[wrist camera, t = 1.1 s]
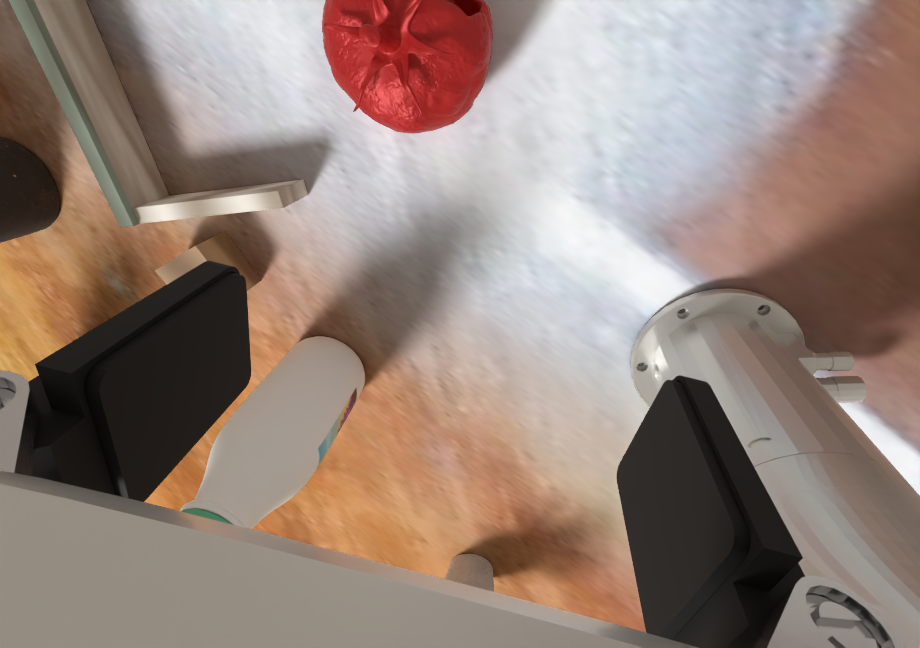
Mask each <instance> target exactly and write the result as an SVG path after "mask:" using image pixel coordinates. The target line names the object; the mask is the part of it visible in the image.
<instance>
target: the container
mask: <svg viewBox="0 0 920 648" xmlns="http://www.w3.org/2000/svg"><path fill="white" fill-rule="evenodd" d="M58 211H59V196H58V192H57V188H56V186H55V184H54V182H53V180H52V178H51V176H50V174H49V172H48V170H47V169H46V168H45V166H44V165H43V164H42V163H41V161H40V160H39V159H38V158H37V157H36V156H35V155H33V154H32V153H31V152H30V151H28V150H27V149H25V148H24V147H22V146H21V145H19V144H17V143H15V142H13V141H11V140H8V139H5V138H1V137H0V243H1V242H4V241H7V240H11V239H14V238H18V237H21V236H25V235H28V234H31V233H34V232H37V231H40V230H43V229H45V228H47V227H49V226H50V225H51V224H52V223H53V222H54V221H55V219H56V217H57V215H58Z"/></svg>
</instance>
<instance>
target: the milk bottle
mask: <svg viewBox="0 0 920 648" xmlns="http://www.w3.org/2000/svg"><path fill="white" fill-rule="evenodd" d="M364 384H365V372H364V367H363V365H362V362H361V360H360V359H359V357H358V356H357V354H356V353H355V352H354V351H353V350H352V349H351V348H350V347H348V346H347V345H346V344H344V343H342V342H340V341H339V340H336V339H333V338H330V337H325V336H316V337H310V338H306V339H304V340H302V341H300V342H298V343H297V344H296V345H295V346H294V347H293V348H292V349H291V350H290V351H289V352H288V353H287V354H286V355H285V357H284V358H283V359H282V360H281V361H280V362H279V363H278V364H277V365H276V366H275V367H274V369H273V370H272V371H271V372H270V373H269V374H268V375H267V376H266V377H265V378H264V380H263V381H262V382H261V383H260V384H259V385H258V386H257V387H256V388H255V390H254V391H253V392H252V393H251V394H250V395H249V396H248V398H247V399H246V400H245V401H244V402H243V403H242V404H241V405H240V407H239V408H238V409H237V410H236V411H235V412H234V414H233V415H232V416H231V417H230V419H229V420H228V421H227V422H226V424H225V425H224V427H223V428H222V430H221V431H220V433H219V434H218V436H217V438H216V440H215V442H214V444H213V447H212V449H211V452H210V456H209V459H208V463H207V468H206V472H205V475H204V479H203V481H202V484H201V486H200V488H199V491H198V493H197V495H196V496H195V498H194V500H193V501H191V502H188V503H186V504H185V505H184V506H183V507H182V508H181V510H180V511H181V512H185V513H189V514H192V515H196V516H200V517H204V518H208V519H212V520H216V521H220V522H224V523H228V524H232V525H236V526H240V527H244V528H248V529H252V528H253V527H254V526H255V525H256V524H257V523H258V522H259V521H260V520H262V519H263V518H264V517H265V516H266V515H268V514H269V513H270V512H272V511H273V510H275V509H276V508H278V507H279V506H281V505H282V504H284V503H285V502H287V501H288V500H289V499H291V498H292V497H293V496H294V495H295V494H297V493H298V492H299V491H300V490H301V489H302V487H303V486H304V485H305V484H306V483H307V482H308V480H309V479H310V478H311V476H312V475H313V473H314V472H315V470H316V469H317V467H318V466H319V464H320V462H321V461H322V459H323V458H324V456H325V454H326V453H327V451H328V449H329V448H330V446H331V444H332V442H333V441H334V439H335V437H336V436H337V434H338V432H339V430H340V429H341V427H342V425H343V423H344V422H345V420H346V418H347V416H348V415H349V413H350V411H351V409H352V408H353V406H354V404H355V402H356V401H357V399H358V397H359V395H360V393H361V391H362V389H363V387H364Z"/></svg>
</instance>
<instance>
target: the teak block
mask: <svg viewBox="0 0 920 648" xmlns="http://www.w3.org/2000/svg"><path fill="white" fill-rule="evenodd" d="M206 261H213V262H217V263H221V264H225V265H230V266H234V267H236V268H237V269H238V271H239V273H240V275H243V276H244V277H245V279H246V288H247V291H248V290H249V289H250V288H252V287H253V286H254V285H256V284H257V283H258V282H260V281H261V278H260V277H259V276H258V274H257V273H256V272H255V270H254V269H253V268H252V266H251V265H250V263H249V262H248V261H247V259H246V258H245V257H244V255H243V254H242V253H241V251H240V250H239V249H238V247H237V246H236V245H235V243H234V242H233V241H232V239H231V238H230V237H229V235H228V234H227V233H226V231H224V232H222V233H220V234H218V235H216V236H214V237H212V238H210V239H208V240H206V241H204V242H202V243H200V244H198V245H196V246H194V247H192V248H191V249H189V250H188V251H186V252H184V253H183V254H181V255H179V256H178V257H176V258H175V259H173V260H171V261H170V262H168V263H166V264H165V265H163V266H162V267H160V268H158V269H157V270H155V271H156V273H157V274H158V275H159V276H160V277H161V279H162V280H163V281H164V282H165V283H166V284H169V283H170V282H172V281H174V280H175V279H177V278H179V277H180V276H182V275H184V274H185V273H187V272H189V271H190V270H192V269H194V268H195V267H197V266H199V265H200V264H202V263H203V262H206Z"/></svg>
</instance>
